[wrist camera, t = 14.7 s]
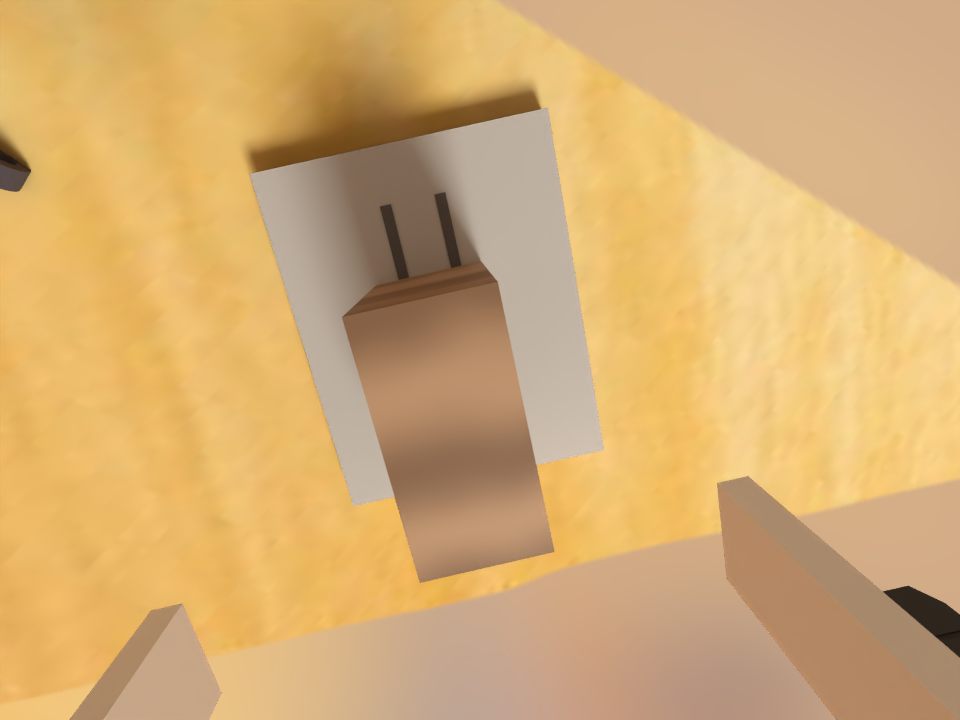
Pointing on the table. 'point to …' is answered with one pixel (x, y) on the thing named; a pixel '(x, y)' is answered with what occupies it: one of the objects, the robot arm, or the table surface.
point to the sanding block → (450, 419)
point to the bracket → (12, 173)
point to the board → (436, 268)
